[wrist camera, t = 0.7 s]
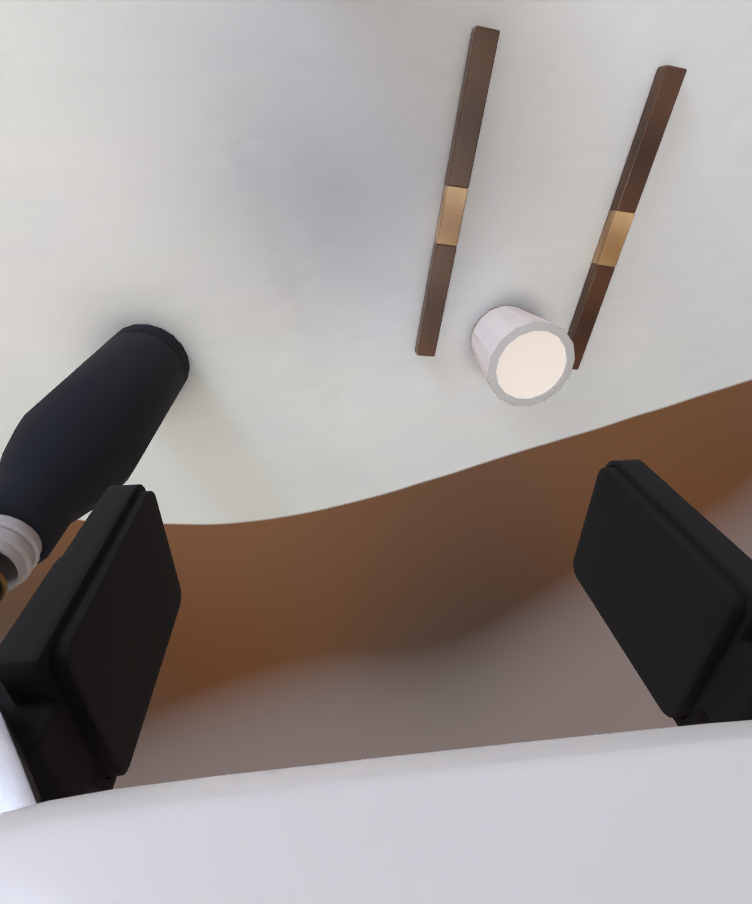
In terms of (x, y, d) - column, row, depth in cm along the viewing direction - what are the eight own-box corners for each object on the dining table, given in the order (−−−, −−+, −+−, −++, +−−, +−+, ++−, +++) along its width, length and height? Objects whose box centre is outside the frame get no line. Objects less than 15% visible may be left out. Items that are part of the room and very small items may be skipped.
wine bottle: (120, 309, 38) (-269, 613, 13) (200, 345, 40) (2, 666, 15) (99, 377, 41) (-257, 740, 15) (176, 407, 43) (-27, 770, 18)
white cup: (552, 309, 42) (592, 334, 36) (520, 380, 45) (551, 414, 39) (481, 288, 40) (510, 311, 35) (452, 364, 44) (474, 397, 38)
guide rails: (472, 28, 32) (476, 25, 31) (678, 71, 34) (687, 68, 33) (414, 351, 43) (416, 355, 42) (573, 365, 45) (578, 369, 44)
